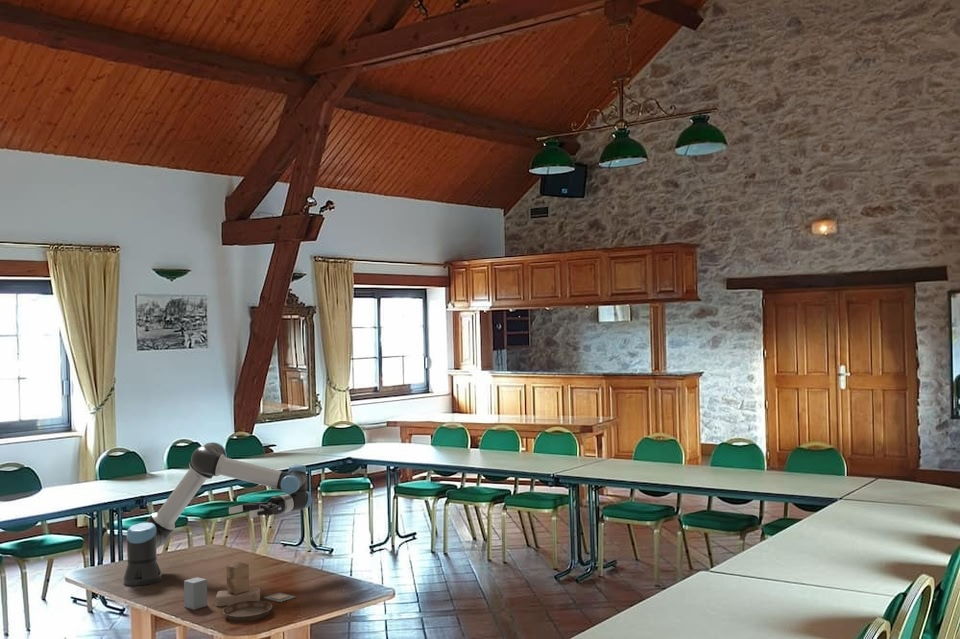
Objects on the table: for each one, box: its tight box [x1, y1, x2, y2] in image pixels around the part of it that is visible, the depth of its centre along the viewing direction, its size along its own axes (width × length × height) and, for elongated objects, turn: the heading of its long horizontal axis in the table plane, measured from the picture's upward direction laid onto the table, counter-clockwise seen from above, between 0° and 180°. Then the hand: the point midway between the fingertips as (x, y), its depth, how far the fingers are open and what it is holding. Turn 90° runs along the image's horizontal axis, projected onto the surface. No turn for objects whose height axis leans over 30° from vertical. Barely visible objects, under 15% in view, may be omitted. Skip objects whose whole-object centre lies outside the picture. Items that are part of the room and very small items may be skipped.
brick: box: [214, 587, 261, 607], centre depth 355 cm, size 16×8×5 cm, turn 100°
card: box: [263, 592, 297, 603], centre depth 359 cm, size 10×8×1 cm
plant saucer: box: [222, 600, 273, 622], centre depth 338 cm, size 18×18×3 cm
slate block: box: [183, 576, 208, 610], centre depth 351 cm, size 6×6×10 cm
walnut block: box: [225, 561, 250, 594], centre depth 355 cm, size 6×6×10 cm
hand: (239, 512), depth 378 cm, fingers open, 13 cm apart
